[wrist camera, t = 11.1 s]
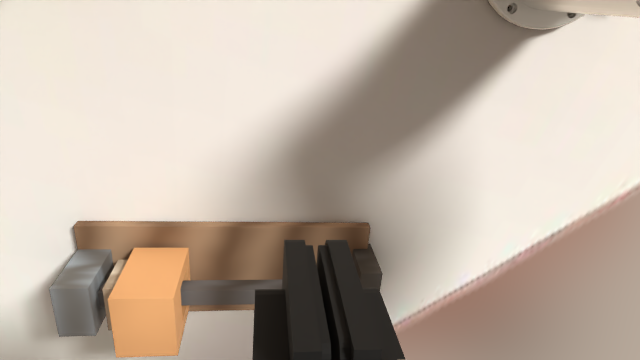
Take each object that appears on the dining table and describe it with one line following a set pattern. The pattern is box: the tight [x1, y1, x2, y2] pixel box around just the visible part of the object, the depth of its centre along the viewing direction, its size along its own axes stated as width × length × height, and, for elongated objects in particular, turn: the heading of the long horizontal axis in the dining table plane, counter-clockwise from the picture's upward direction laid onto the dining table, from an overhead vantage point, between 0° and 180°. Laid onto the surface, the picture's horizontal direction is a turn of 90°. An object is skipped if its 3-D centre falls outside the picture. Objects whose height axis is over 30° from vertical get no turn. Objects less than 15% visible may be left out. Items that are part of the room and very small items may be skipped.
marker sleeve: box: [108, 248, 190, 357], centre depth 40 cm, size 5×6×8 cm
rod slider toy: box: [49, 221, 382, 337], centre depth 42 cm, size 28×10×7 cm, turn 86°
